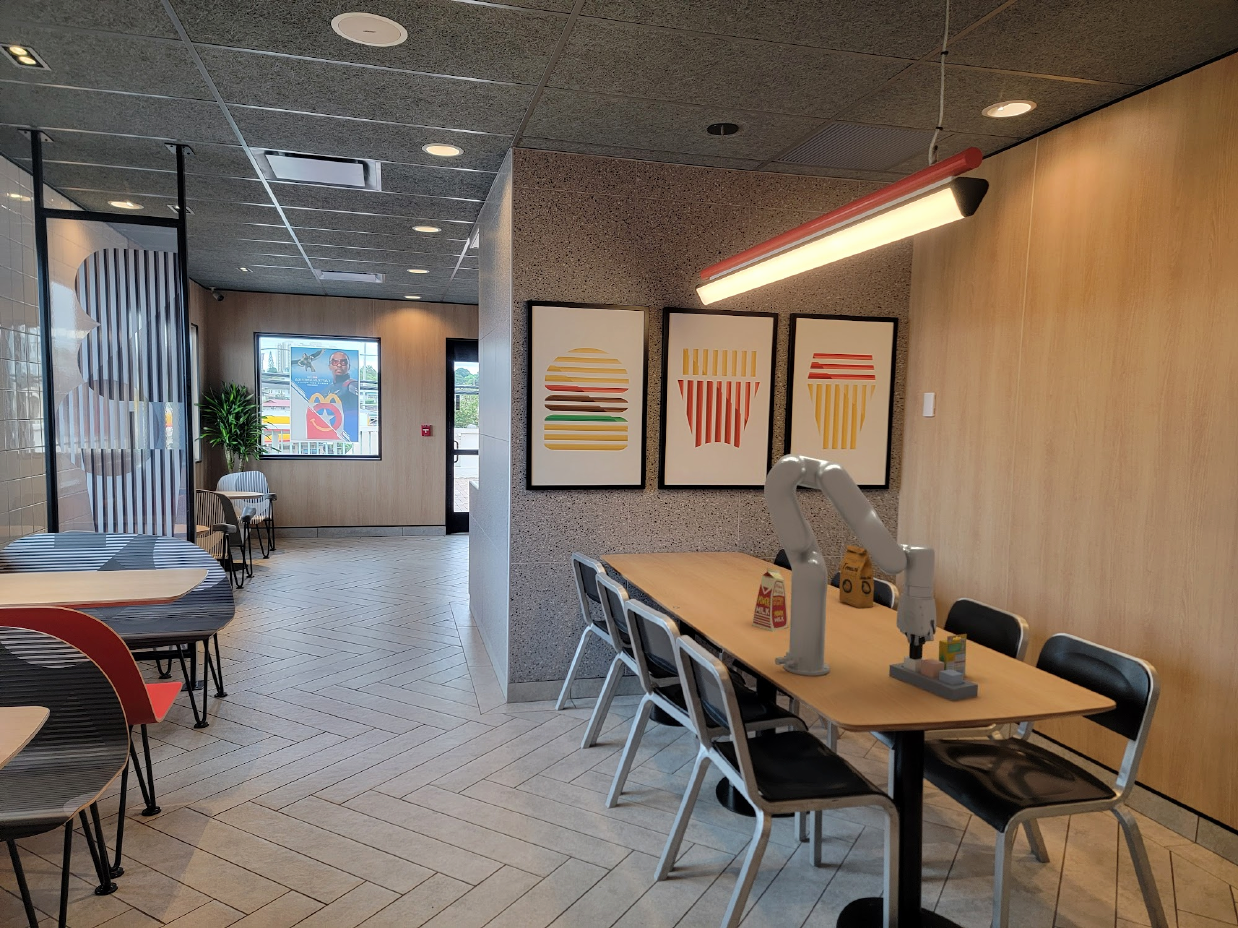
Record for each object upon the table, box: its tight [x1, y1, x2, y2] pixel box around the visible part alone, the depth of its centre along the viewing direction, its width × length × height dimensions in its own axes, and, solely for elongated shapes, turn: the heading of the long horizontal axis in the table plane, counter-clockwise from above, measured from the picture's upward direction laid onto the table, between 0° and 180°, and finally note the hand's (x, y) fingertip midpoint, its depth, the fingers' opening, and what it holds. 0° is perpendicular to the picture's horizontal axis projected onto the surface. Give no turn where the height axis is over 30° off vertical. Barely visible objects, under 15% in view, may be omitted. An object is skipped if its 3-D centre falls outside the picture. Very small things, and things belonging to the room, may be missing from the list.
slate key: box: [939, 669, 964, 686], centre depth 203 cm, size 4×4×4 cm
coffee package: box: [838, 544, 875, 609], centre depth 299 cm, size 10×12×22 cm
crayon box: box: [938, 633, 968, 677], centre depth 217 cm, size 7×3×12 cm, turn 113°
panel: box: [888, 662, 979, 702], centre depth 208 cm, size 9×21×3 cm, turn 26°
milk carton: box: [751, 567, 789, 632], centre depth 265 cm, size 9×9×20 cm
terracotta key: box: [921, 657, 944, 678], centre depth 208 cm, size 4×4×4 cm
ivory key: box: [903, 655, 926, 672], centre depth 214 cm, size 4×4×4 cm
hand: (915, 658), depth 214 cm, fingers closed
